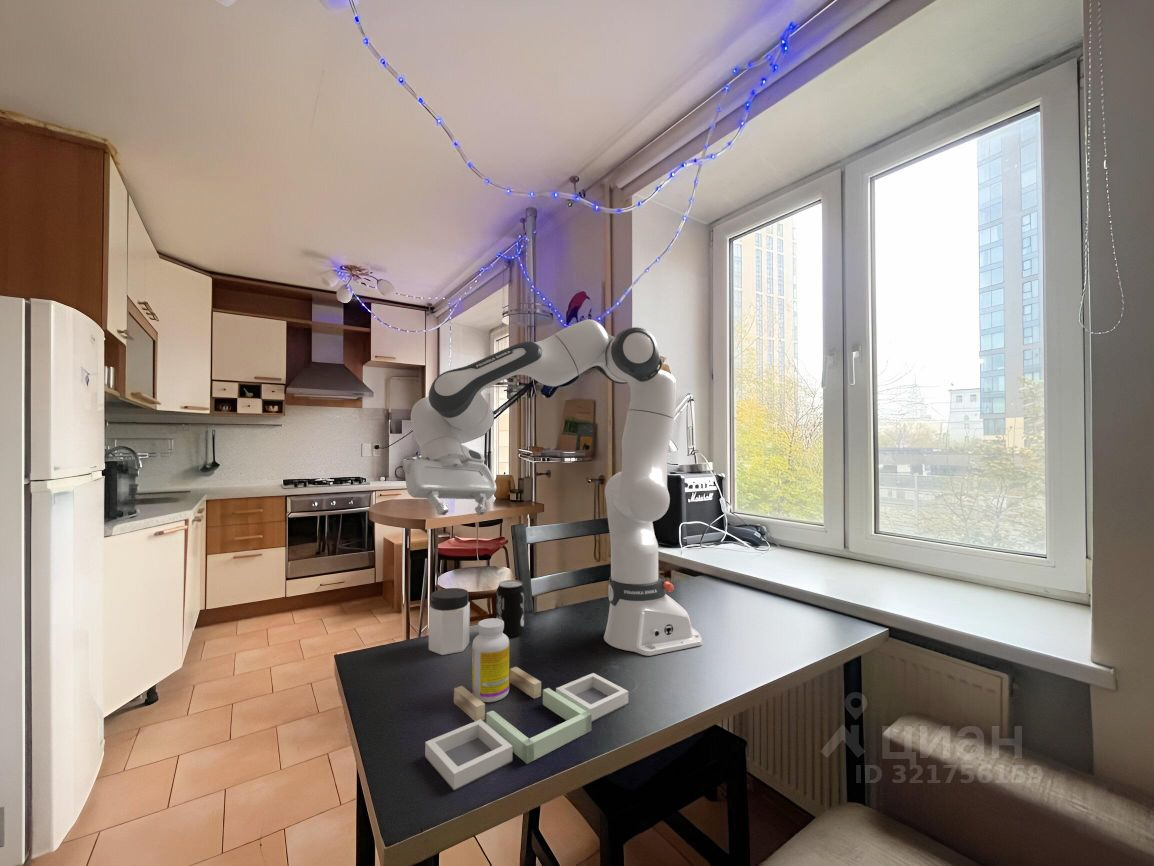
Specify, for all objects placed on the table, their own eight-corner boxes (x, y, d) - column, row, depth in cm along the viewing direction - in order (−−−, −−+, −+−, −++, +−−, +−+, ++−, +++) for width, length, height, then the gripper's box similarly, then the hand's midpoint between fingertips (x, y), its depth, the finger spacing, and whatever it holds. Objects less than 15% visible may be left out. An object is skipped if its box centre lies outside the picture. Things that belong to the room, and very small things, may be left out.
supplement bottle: (516, 693, 88) (517, 622, 88) (487, 708, 83) (488, 632, 83) (493, 681, 92) (494, 613, 93) (464, 694, 87) (465, 622, 88)
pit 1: (425, 757, 70) (425, 741, 70) (480, 733, 76) (480, 719, 76) (454, 791, 63) (454, 773, 63) (512, 761, 69) (512, 746, 69)
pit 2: (555, 700, 85) (555, 688, 85) (593, 684, 91) (593, 672, 91) (590, 722, 78) (590, 709, 79) (628, 703, 84) (628, 691, 84)
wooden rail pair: (453, 702, 84) (454, 688, 85) (516, 679, 93) (516, 666, 93) (476, 722, 78) (476, 707, 79) (541, 695, 87) (541, 681, 87)
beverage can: (518, 639, 112) (519, 587, 113) (492, 637, 114) (492, 586, 114) (527, 629, 119) (527, 580, 119) (501, 627, 120) (502, 578, 120)
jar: (438, 638, 113) (439, 586, 113) (472, 639, 112) (473, 587, 113) (423, 654, 104) (424, 598, 104) (460, 656, 103) (460, 599, 104)
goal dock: (486, 728, 77) (486, 712, 77) (548, 702, 85) (548, 687, 85) (526, 763, 68) (527, 745, 68) (591, 730, 76) (591, 714, 76)
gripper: (407, 446, 96) (425, 503, 89) (489, 455, 111) (510, 505, 104) (393, 465, 99) (409, 522, 92) (474, 471, 114) (494, 521, 107)
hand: (463, 513), depth 98 cm, fingers open, 8 cm apart
